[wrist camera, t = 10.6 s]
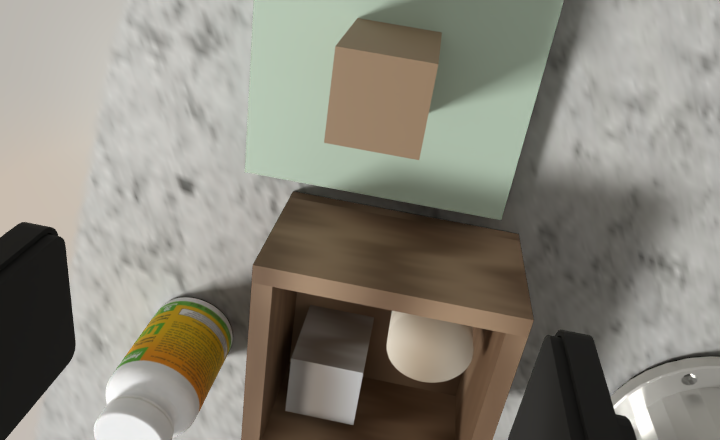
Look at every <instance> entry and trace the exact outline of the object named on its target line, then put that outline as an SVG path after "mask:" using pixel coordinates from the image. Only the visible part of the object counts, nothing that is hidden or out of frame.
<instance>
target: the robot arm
mask: <svg viewBox="0 0 720 440" xmlns="http://www.w3.org/2000/svg"><path fill="white" fill-rule="evenodd" d="M74 351H75V334H74V324H73V314H72V305H71V295H70V286H69V276H68V266H67V257H66V247H65V242H64V240H63V238H61V237H59V236H58V234H57V232H56V230H55V229H54V228H51V227H47V226H41V225H36V224H32V223H27V222H22V223H20V224H18V225H17V226H15V227H14V228H13V229H11V230H10V231H8V232H7V233H6V234H4V235H3V236H2V237H0V440H5V439H6V438H7V437H8V436H9V434H10V433H11V432H12V431H13V429H14V428H15V427H16V426H17V425H18V423H19V422H20V421H21V420H22V419H23V417H24V416H25V415H26V414H27V413H28V412H29V410H30V409H31V408H32V407H33V405H34V404H35V403H36V402H37V401H38V400H39V398H40V397H41V396H42V395H43V394H44V392H45V391H46V390H47V389H48V387H49V386H50V385H51V384H52V383H53V381H54V380H55V379H56V378H57V377H58V375H59V374H60V373H61V372H62V371H63V369H64V368H65V367H66V366H67V365H68V363H69V362H70V361H71V359H72V357H73V354H74ZM508 440H720V357H712V356H709V357H697V358H687V359H683V360H678V361H674V362H670V363H666V364H663V365H660V366H658V367H655V368H652V369H650V370H647V371H645V372H644V373H642V374H640V375H638V376H636V377H635V378H633V379H631V380H629V381H628V382H627V383H626V384H624V385H623V386H622V387H621V388H620V389H618V390H617V391H616V392H615V393H614V394H613V395H612V397H610V394H609V390H608V387H607V384H606V380H605V377H604V374H603V370H602V367H601V364H600V360H599V357H598V354H597V350H596V347H595V344H594V340H593V338H592V337H591V336H590V335H585V334H580V333H575V332H570V331H565V330H559V331H558V332H557V333H556V335H555V336H550V335H547V336H546V337H545V339H544V341H543V344H542V347H541V350H540V352H539V355H538V358H537V361H536V363H535V366H534V369H533V371H532V374H531V377H530V380H529V382H528V385H527V388H526V391H525V393H524V396H523V399H522V402H521V404H520V407H519V410H518V413H517V415H516V418H515V421H514V424H513V426H512V429H511V432H510V435H509V438H508Z"/></svg>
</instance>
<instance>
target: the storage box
mask: <svg viewBox="0 0 720 440" xmlns="http://www.w3.org/2000/svg"><path fill="white" fill-rule="evenodd" d="M533 321H534V319H533V313H532V307H531V302H530V296H529V290H528V285H527V279H526V273H525V267H524V262H523V256H522V250H521V245H520V239H519V234H516V233H511V232H505V231H500V230H495V229H489V228H484V227H479V226H474V225H468V224H463V223H458V222H453V221H447V220H442V219H437V218H432V217H426V216H421V215H416V214H410V213H405V212H400V211H395V210H389V209H384V208H379V207H374V206H368V205H363V204H358V203H352V202H347V201H342V200H337V199H331V198H326V197H321V196H316V195H310V194H305V193H300V192H295V191H293V193H292V194H291V196H290V198H289V200H288V202H287V203H286V205H285V207H284V209H283V211H282V213H281V214H280V216H279V218H278V220H277V222H276V224H275V225H274V227H273V229H272V231H271V233H270V235H269V236H268V238H267V240H266V242H265V244H264V245H263V247H262V249H261V251H260V253H259V255H258V256H257V258H256V260H255V262H254V264H253V270H252V285H251V300H250V315H249V331H248V346H247V361H246V376H245V391H244V406H243V421H242V437H241V440H492V439H493V436H494V434H495V431H496V428H497V425H498V422H499V419H500V416H501V413H502V411H503V408H504V405H505V402H506V399H507V396H508V393H509V390H510V388H511V385H512V382H513V379H514V376H515V373H516V370H517V367H518V364H519V362H520V359H521V356H522V353H523V350H524V347H525V344H526V341H527V339H528V336H529V333H530V330H531V327H532V324H533Z"/></svg>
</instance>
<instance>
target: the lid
mask: <svg viewBox="0 0 720 440" xmlns="http://www.w3.org/2000/svg"><path fill="white" fill-rule="evenodd" d="M563 2H564V0H254V4H253V24H252V43H251V62H250V81H249V100H248V119H247V138H246V158H245V172H247V173H252V174H257V175H263V176H268V177H273V178H279V179H284V180H289V181H295V182H300V183H305V184H311V185H316V186H321V187H327V188H332V189H337V190H343V191H348V192H353V193H359V194H364V195H369V196H375V197H380V198H385V199H391V200H396V201H401V202H407V203H412V204H417V205H423V206H428V207H433V208H439V209H444V210H449V211H455V212H460V213H465V214H471V215H476V216H481V217H486V218H492V219H497V220H501V219H502V216H503V212H504V209H505V205H506V202H507V198H508V195H509V191H510V188H511V184H512V181H513V177H514V174H515V170H516V167H517V163H518V160H519V156H520V153H521V149H522V146H523V142H524V139H525V135H526V132H527V128H528V125H529V121H530V118H531V114H532V111H533V107H534V104H535V100H536V97H537V93H538V90H539V86H540V83H541V79H542V76H543V72H544V69H545V65H546V62H547V58H548V55H549V51H550V48H551V44H552V41H553V37H554V34H555V30H556V27H557V23H558V20H559V16H560V13H561V9H562V6H563Z"/></svg>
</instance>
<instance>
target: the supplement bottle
mask: <svg viewBox="0 0 720 440" xmlns="http://www.w3.org/2000/svg"><path fill="white" fill-rule="evenodd" d="M232 340H233V335H232V329H231V326H230V324H229V322H228V320H227V318H226V317H225V316H224V314H223V313H222V312H221V311H219V310H218V309H217V308H216V307H214V306H213V305H211V304H209V303H207V302H205V301H203V300H199V299H196V298H189V297H182V298H176V299H173V300H171V301H169V302H167V303H165V304H164V305H163V306H162V307H161V308H160V309H159V310H158V311H157V313H156V314H155V315H154V317H153V318H152V320H151V321H150V323H149V324H148V325H147V327H146V328H145V330H144V331H143V332H142V334H141V335H140V337H139V338H138V339H137V341H136V342H135V343H134V345H133V346H132V348H131V349H130V351H129V352H128V353H127V355H126V356H125V358H124V359H123V360H122V362H121V363H120V365H119V366H118V367H117V369H116V370H115V371H114V373H113V375H112V376H111V378H110V379H109V381H108V384H107V387H106V402H107V406H106V407H105V408H104V410H103V411H102V413H101V414H100V416H99V417H98V419H97V420H96V423H95V425H94V436H95V439H96V440H172V438H173V437H176V436H178V435H180V434H182V433H183V432H185V431H186V430H187V429H188V428H189V427H190V426H191V425H192V423H193V422H194V420H195V418H196V416H197V415H198V413H199V411H200V409H201V407H202V405H203V403H204V401H205V399H206V397H207V395H208V392H209V390H210V388H211V386H212V384H213V383H214V381H215V379H216V377H217V375H218V373H219V371H220V369H221V367H222V365H223V363H224V361H225V359H226V357H227V355H228V352H229V350H230V348H231V345H232Z"/></svg>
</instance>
